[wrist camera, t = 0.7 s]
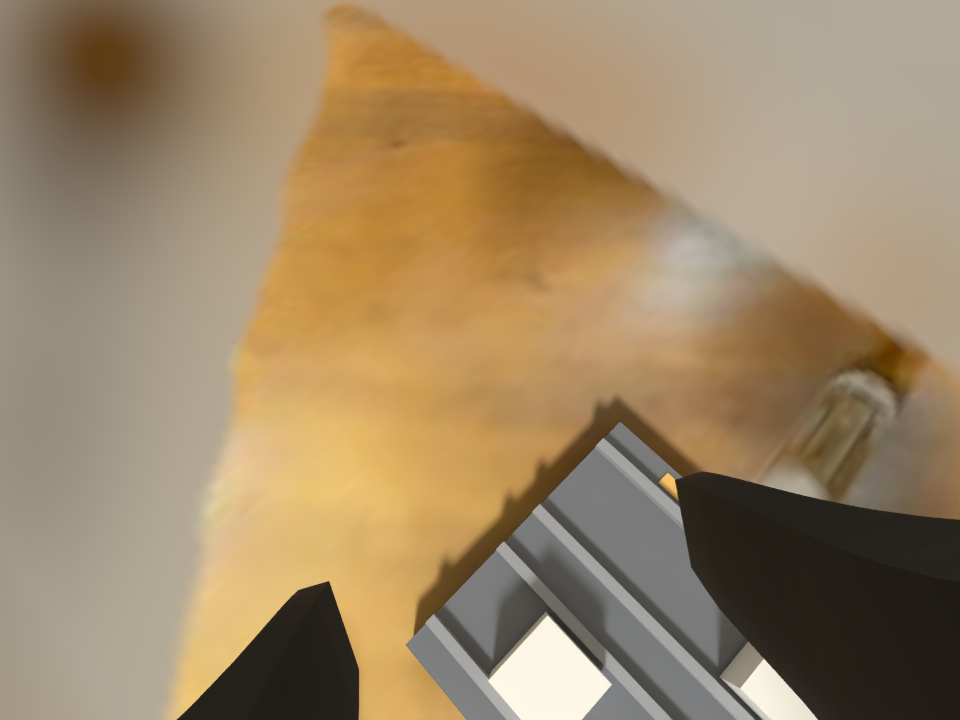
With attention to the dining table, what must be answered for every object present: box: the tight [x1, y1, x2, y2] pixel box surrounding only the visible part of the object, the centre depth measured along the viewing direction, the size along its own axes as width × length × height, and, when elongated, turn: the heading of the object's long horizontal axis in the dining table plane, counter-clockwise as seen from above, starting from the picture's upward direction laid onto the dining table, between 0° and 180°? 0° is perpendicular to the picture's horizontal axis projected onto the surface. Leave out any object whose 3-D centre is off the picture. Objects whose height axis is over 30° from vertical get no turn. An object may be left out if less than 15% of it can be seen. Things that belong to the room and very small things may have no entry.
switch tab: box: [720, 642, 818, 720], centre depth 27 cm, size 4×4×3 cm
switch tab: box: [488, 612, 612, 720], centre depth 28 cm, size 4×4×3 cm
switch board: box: [406, 422, 762, 720], centre depth 29 cm, size 20×17×3 cm
